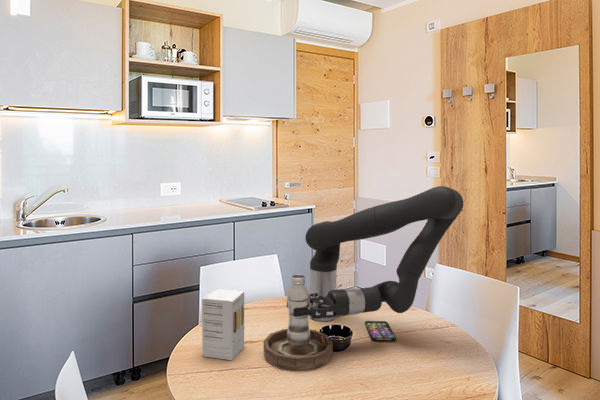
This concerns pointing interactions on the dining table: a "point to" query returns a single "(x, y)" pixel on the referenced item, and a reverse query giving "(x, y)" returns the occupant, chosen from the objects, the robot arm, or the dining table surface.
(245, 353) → the dining table surface
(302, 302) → the plastic bottle
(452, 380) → the dining table surface
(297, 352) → the walnut tray
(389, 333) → the smartphone
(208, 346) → the supplement box
